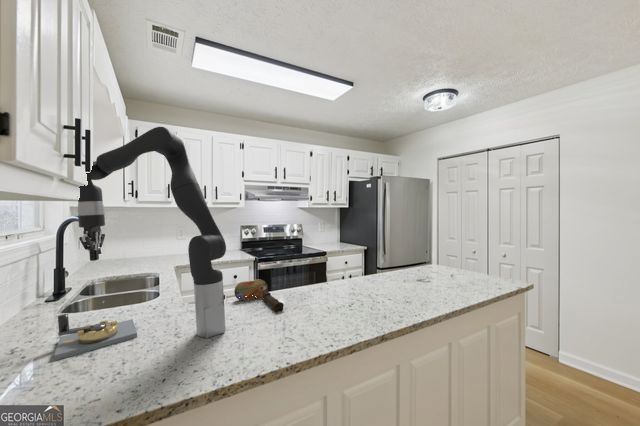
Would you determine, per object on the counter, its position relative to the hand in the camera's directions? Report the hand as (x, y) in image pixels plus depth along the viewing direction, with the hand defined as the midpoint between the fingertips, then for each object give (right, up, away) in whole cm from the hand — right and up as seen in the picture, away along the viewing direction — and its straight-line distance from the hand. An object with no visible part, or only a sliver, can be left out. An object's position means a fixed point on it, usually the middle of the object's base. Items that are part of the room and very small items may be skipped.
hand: (94, 260), depth 101 cm
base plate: (+10, -25, -10) cm, 29 cm away
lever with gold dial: (+9, -23, -13) cm, 28 cm away
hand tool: (+63, -22, +14) cm, 68 cm away
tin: (+53, -22, +24) cm, 62 cm away
